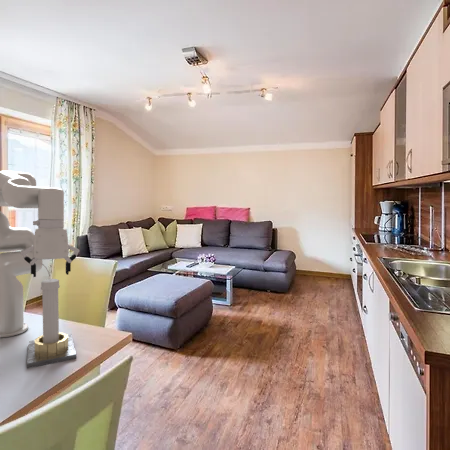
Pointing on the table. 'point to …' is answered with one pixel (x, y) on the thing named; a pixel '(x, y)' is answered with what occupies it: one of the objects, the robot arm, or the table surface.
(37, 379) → the table surface
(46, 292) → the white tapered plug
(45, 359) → the fitting base
